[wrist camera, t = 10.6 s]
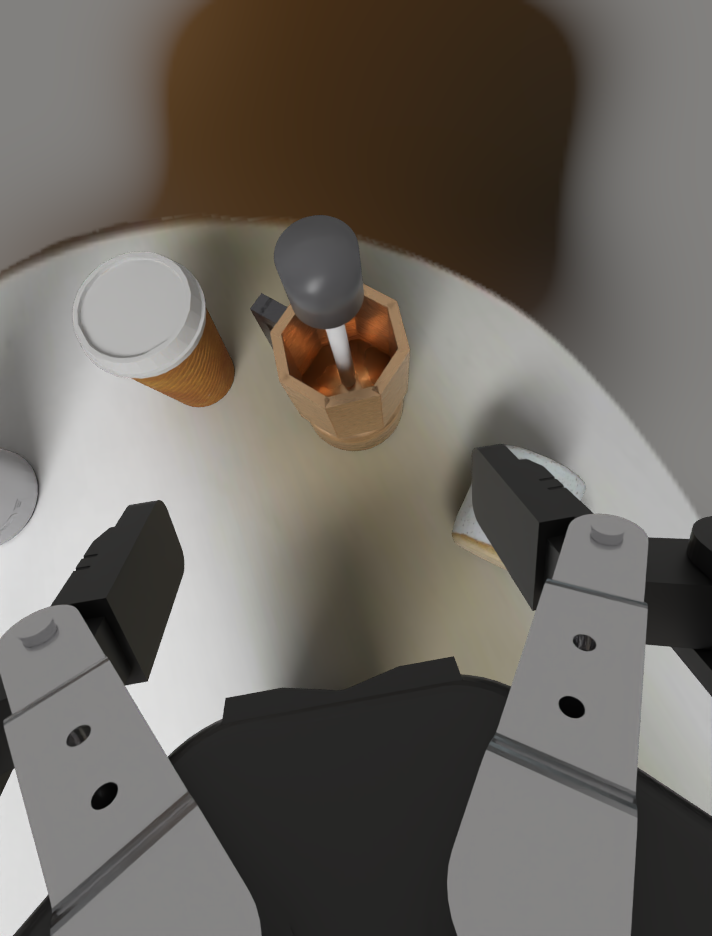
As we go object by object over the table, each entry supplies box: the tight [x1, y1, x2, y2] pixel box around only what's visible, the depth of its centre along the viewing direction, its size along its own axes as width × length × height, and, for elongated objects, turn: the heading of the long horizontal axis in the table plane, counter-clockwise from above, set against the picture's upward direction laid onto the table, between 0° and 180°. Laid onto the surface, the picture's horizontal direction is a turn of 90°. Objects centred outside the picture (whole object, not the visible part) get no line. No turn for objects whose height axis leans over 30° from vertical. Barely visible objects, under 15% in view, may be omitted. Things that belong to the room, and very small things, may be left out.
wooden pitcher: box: [250, 284, 410, 451], centre depth 36 cm, size 11×9×12 cm
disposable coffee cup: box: [72, 251, 234, 407], centre depth 38 cm, size 10×10×12 cm
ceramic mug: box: [452, 445, 586, 570], centre depth 35 cm, size 11×8×8 cm
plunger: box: [274, 215, 364, 387], centre depth 29 cm, size 4×4×15 cm
